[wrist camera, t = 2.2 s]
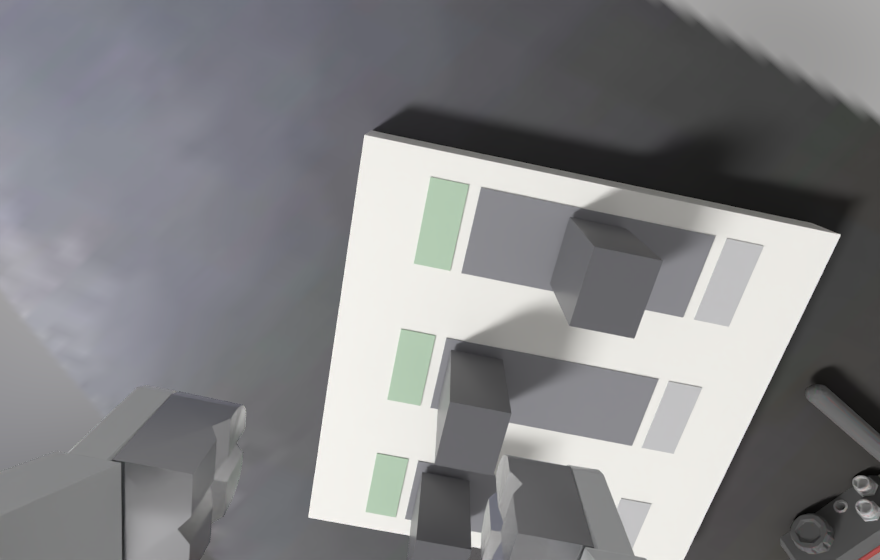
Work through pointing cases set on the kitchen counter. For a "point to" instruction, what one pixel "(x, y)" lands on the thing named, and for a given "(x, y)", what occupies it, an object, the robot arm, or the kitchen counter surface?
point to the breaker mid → (472, 413)
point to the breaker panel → (550, 336)
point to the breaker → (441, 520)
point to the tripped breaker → (603, 277)
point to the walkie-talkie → (841, 499)
